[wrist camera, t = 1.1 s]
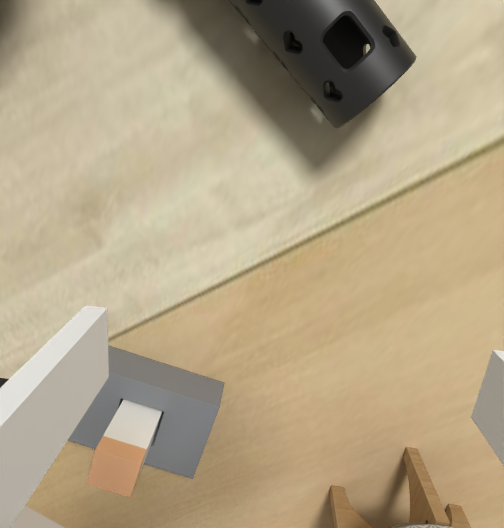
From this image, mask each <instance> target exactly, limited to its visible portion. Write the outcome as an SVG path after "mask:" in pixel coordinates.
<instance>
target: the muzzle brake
mask: <svg viewBox="0 0 504 528" xmlns="http://www.w3.org/2000/svg"><path fill="white" fill-rule="evenodd" d="M230 1H231V3H232V4H233V5H234V6H235V8H236V9H237V10H238V11H239V12H240V14H241V15H242V16H243V17H244V18H245V19H246V21H247V22H248V23H249V24H250V26H251V27H252V28H253V29H254V31H255V32H256V33H257V34H258V35H259V37H260V38H261V39H262V40H263V41H264V43H265V44H266V45H267V46H268V47H269V49H270V50H271V51H272V52H273V53H274V55H275V56H276V57H277V58H278V60H279V61H281V63H282V64H283V66H284V67H285V68H286V69H287V70H288V72H289V73H290V74H291V75H292V76H293V78H294V79H295V80H296V81H297V82H298V84H299V85H300V86H301V87H302V89H303V90H304V91H305V92H306V93H307V95H308V96H309V97H310V98H311V99H312V101H313V102H314V103H315V104H316V105H317V107H318V108H319V109H320V110H321V112H322V113H323V114H324V115H325V116H326V118H327V119H328V120H329V121H330V122H331V124H332V125H333V126H334V127H335V128H339V127H341V126H343V125H344V124H346V123H347V122H349V121H350V120H352V119H353V118H354V117H355V116H357V115H358V114H359V113H361V112H362V111H363V110H364V109H365V108H367V107H368V106H369V105H370V104H371V103H373V102H374V101H375V100H376V99H377V98H378V97H379V96H381V95H382V94H383V93H384V92H385V91H386V90H387V89H388V88H389V87H391V86H392V85H393V84H394V83H395V82H396V81H397V80H398V79H399V78H400V77H401V76H402V75H403V74H404V73H405V72H406V71H407V70H408V69H409V68H410V67H411V66H412V64H413V63H414V62H415V60H416V56H415V54H414V53H413V52H412V50H411V49H410V48H409V46H408V45H407V44H406V42H405V41H404V39H403V38H402V37H401V35H400V34H399V33H398V31H397V30H396V29H395V27H394V26H393V25H392V23H391V22H390V21H389V19H388V18H387V17H386V15H385V14H384V13H383V11H382V10H381V9H380V7H379V6H378V5H377V3H376V2H375V1H374V0H230ZM367 44H369V45H370V50H369V51H368V52H367V53H366V45H367Z"/></svg>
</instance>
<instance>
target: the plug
mask: <svg viewBox="0 0 504 528" xmlns="http://www.w3.org/2000/svg"><path fill="white" fill-rule="evenodd" d="M162 415H163V411H160V410H156V409H153V408H150V407H147V406H144V405H140V404H137V403H134V402H131V401H128V400H125V399H123V401H122V403H121V405H120V406H119V408H118V410H117V412H116V414H115V415H114V417H113V419H112V421H111V422H110V424H109V426H108V428H107V430H106V431H105V433H104V435H103V437H102V439H101V440H100V442H99V444H98V446H97V447H96V449H95V453H94V457H93V461H92V464H91V468H90V472H89V476H88V479H87V483H86V484H88V485H91V486H94V487H98V488H101V489H104V490H108V491H111V492H114V493H117V494H121V495H124V496H127V497H131V495H132V493H133V490H134V487H135V485H136V482H137V480H138V477H139V475H140V472H141V470H142V467H143V465H144V462H145V459H146V457H147V454H148V452H149V449H150V447H151V444H152V442H153V439H154V437H155V434H156V431H157V429H158V426H159V424H160V421H161V418H162Z"/></svg>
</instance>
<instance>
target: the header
mask: <svg viewBox="0 0 504 528" xmlns="http://www.w3.org/2000/svg"><path fill="white" fill-rule="evenodd" d="M108 362H109V377H108V379H107V380H106V382H105V383H104V385H103V386H102V388H101V390H100V391H99V393H98V394H97V396H96V397H95V399H94V400H93V402H92V403H91V405H90V406H89V408H88V410H87V411H86V413H85V414H84V416H83V417H82V419H81V420H80V422H79V423H78V425H77V426H76V428H75V430H74V431H73V433H72V434H71V436H70V437H69V439H68V441H71V442H74V443H78V444H81V445H84V446H87V447H91V448H94V449H96V447H97V446H98V444H99V442H100V440H101V439H102V437H103V435H104V433H105V431H106V430H107V428H108V426H109V424H110V422H111V421H112V419H113V417H114V415H115V414H116V412H117V410H118V408H119V406H120V405H121V403H122V401H123V399H125V400H128V401H131V402H134V403H137V404H140V405H144V406H147V407H150V408H153V409H156V410H160V411H163V415H162V418H161V421H160V424H159V426H158V429H157V431H156V434H155V437H154V439H153V442H152V444H151V447H150V449H149V452H148V454H147V457H146V459H145V462H144V464H146V465H149V466H152V467H156V468H159V469H162V470H165V471H169V472H172V473H175V474H178V475H182V476H185V477H188V478H191V479H193V477H194V474H195V471H196V469H197V466H198V463H199V461H200V458H201V455H202V453H203V450H204V447H205V445H206V442H207V439H208V437H209V434H210V431H211V429H212V426H213V423H214V420H215V418H216V415H217V412H218V410H219V407H220V402H221V397H222V393H223V388H224V383H223V382H220V381H217V380H214V379H211V378H208V377H205V376H202V375H198V374H195V373H192V372H189V371H186V370H183V369H180V368H177V367H173V366H170V365H167V364H164V363H161V362H158V361H155V360H152V359H149V358H145V357H142V356H139V355H136V354H133V353H130V352H127V351H124V350H120V349H117V348H114V347H111V346H108Z"/></svg>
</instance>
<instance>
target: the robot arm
mask: <svg viewBox="0 0 504 528" xmlns="http://www.w3.org/2000/svg"><path fill="white" fill-rule="evenodd" d="M108 377H109V362H108V308H104V307H94V306H84V307H83V308H82V309H81V310H80V311H79V312H78V313H77V314H76V315H75V316H74V317H73V318H72V319H71V320H70V321H69V322H68V323H67V324H66V325H65V326H64V327H63V328H62V329H61V330H60V331H59V332H57V333H56V334H55V335H54V336H53V337H52V338H51V339H50V340H49V341H48V342H47V343H46V344H45V345H44V346H43V347H42V348H41V349H40V350H39V351H38V352H37V353H36V354H35V355H34V356H33V357H32V358H31V359H30V360H29V361H27V362H26V363H25V364H24V365H23V366H22V367H21V368H20V369H19V370H18V371H17V372H16V373H15V374H14V375H13V376H12V377H11V378H10V379H4V378H0V528H11V526H12V525H13V523H14V522H15V520H16V519H17V517H18V516H19V514H20V512H21V511H22V509H23V508H24V506H25V505H26V503H27V502H28V500H29V499H30V497H31V496H32V494H33V493H34V491H35V489H36V488H37V486H38V485H39V483H40V482H41V480H42V479H43V477H44V476H45V474H46V473H47V471H48V469H49V468H50V466H51V465H52V463H53V462H54V460H55V459H56V457H57V456H58V454H59V453H60V451H61V450H62V448H63V446H64V445H65V443H66V442H67V440H68V439H69V437H70V436H71V434H72V433H73V431H74V430H75V428H76V426H77V425H78V423H79V422H80V420H81V419H82V417H83V416H84V414H85V413H86V411H87V410H88V408H89V406H90V405H91V403H92V402H93V400H94V399H95V397H96V396H97V394H98V393H99V391H100V390H101V388H102V386H103V385H104V383H105V382H106V380H107V379H108ZM471 418H472V419H473V421H474V422H475V424H476V425H477V427H478V428H479V430H480V431H481V433H482V434H483V436H484V437H485V439H486V440H487V442H488V443H489V445H490V446H491V448H492V449H493V451H494V452H495V454H496V455H497V457H498V458H499V460H500V461H501V463H502V464H503V466H504V351H497V350H493V351H492V354H491V357H490V360H489V363H488V366H487V370H486V373H485V376H484V379H483V382H482V385H481V388H480V391H479V394H478V397H477V401H476V404H475V407H474V410H473V413H472V416H471Z"/></svg>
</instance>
